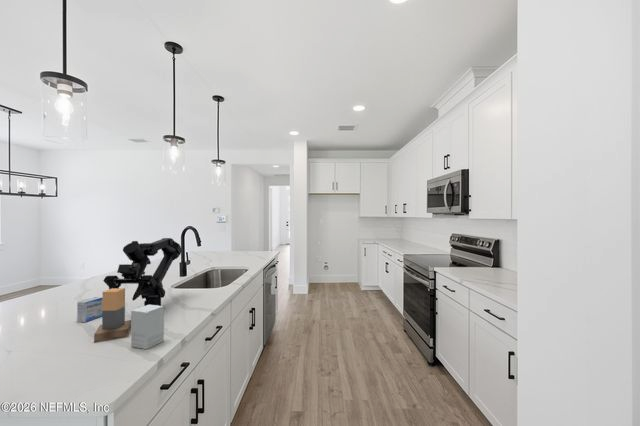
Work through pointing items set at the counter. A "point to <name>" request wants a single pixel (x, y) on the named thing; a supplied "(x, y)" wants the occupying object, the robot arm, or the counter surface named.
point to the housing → (113, 308)
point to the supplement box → (147, 326)
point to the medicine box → (89, 309)
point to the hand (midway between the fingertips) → (121, 300)
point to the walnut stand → (112, 332)
